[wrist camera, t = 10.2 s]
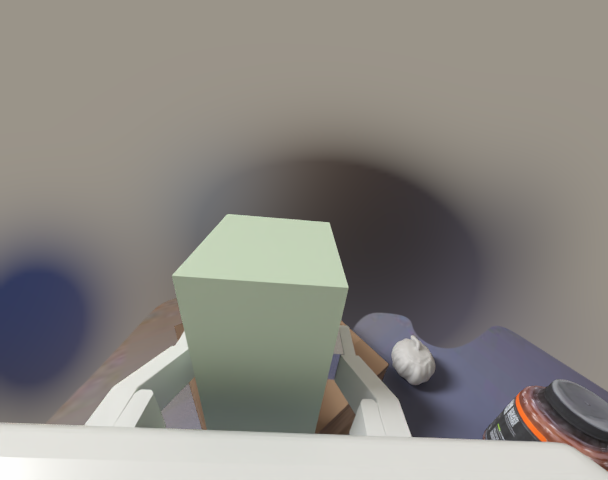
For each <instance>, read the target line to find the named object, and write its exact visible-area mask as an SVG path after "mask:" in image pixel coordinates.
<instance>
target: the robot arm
mask: <svg viewBox="0 0 608 480" xmlns="http://www.w3.org/2000/svg"><path fill="white" fill-rule="evenodd" d="M194 377H195V375H194V371H193V366H192V362H191V358H190V353H189V349H188V344H187V340H186V336H185V331H184V332H183V334H182V335H181V337H180V339H179V340H178V342H177V344H176V345H175V346H171V347H170V348H168V349H167V350H165V351H164V352H162V353H161V354H160V355H158V356H157V357H155V358H154V359H152V360H151V361H150V362H148V363H147V364H145V365H144V366H142V367H141V368H139V369H138V370H137V371H135V372H134V373H132V374H131V375H129V376H128V377H127V378H125V379H124V380H122V381H121V382H119V383H118V384H116V385H115V386H114V387H113V388H112V389H111V390H110V392H109V393H108V394H107V396H106V397H105V398H104V400H103V401H102V402H101V404H100V405H99V406H98V408H97V409H96V410H95V412H94V413H93V414H92V416H91V417H90V418H89V420H88V421H87V422H86V424H85V425H84V426H83V425H55V424H25V423H0V480H608V471H606V470H605V469H604V468H602V467H601V466H599V465H598V464H597V463H595V462H594V461H593V460H591V459H590V458H588V457H587V456H585V455H584V454H582V453H581V452H579V451H578V450H577V449H575V448H574V447H571V446H569V445H567V444H564V443H557V442H536V441H507V440H479V439H451V438H422V437H412V436H411V433H410V431H409V428H408V425H407V422H406V419H405V417H404V414H403V411H402V408H401V405H400V403H399V400H398V399H397V397H396V396H395V395H394V394H393V393H392V392H391V391H390V390H389V389H388V388H387V386H386V385H385V384H384V383H383V382H382V381H381V380H380V379H379V378H378V376H377V375H376V374H375V373H374V372H373V371H372V370H371V369H370V368H369V366H368V365H367V364H366V363H365V362H364V361H363V360H362V359H361V358H360V356H356V354H355V350H354V346H353V342H352V338H351V334H350V329H349V327H348V326H344V325H340V327H339V331H338V335H337V339H336V344H335V348H334V352H333V357H332V361H331V365H330V369H329V374H328V378H327V379H331V380H334V381H335V383H336V384H337V386H338V387H339V389H340V391H341V392H342V394H343V396H344V397H345V399H346V400H347V402H348V404H349V405H350V407H351V408H352V410H353V412H354V413H355V415H356V416H355V418H354V421H353V424H352V426H351V429H350V431H349V434H350V435H337V434H309V433H282V432H254V431H226V430H197V429H169V428H165V427H166V424H165V421H164V419H163V416H162V414H161V411H162V410H163V409H164V407H165V406H166V405H167V404H168V403H169V402H170V401H171V400H172V399H173V398H174V397H175V396H176V395H177V394H178V393H179V392H180V391H181V390H182V389H183V388H184V387H185V386H186V385H187V384H188V383H189V382H190V381H191V380H192V379H193V378H194Z"/></svg>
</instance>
